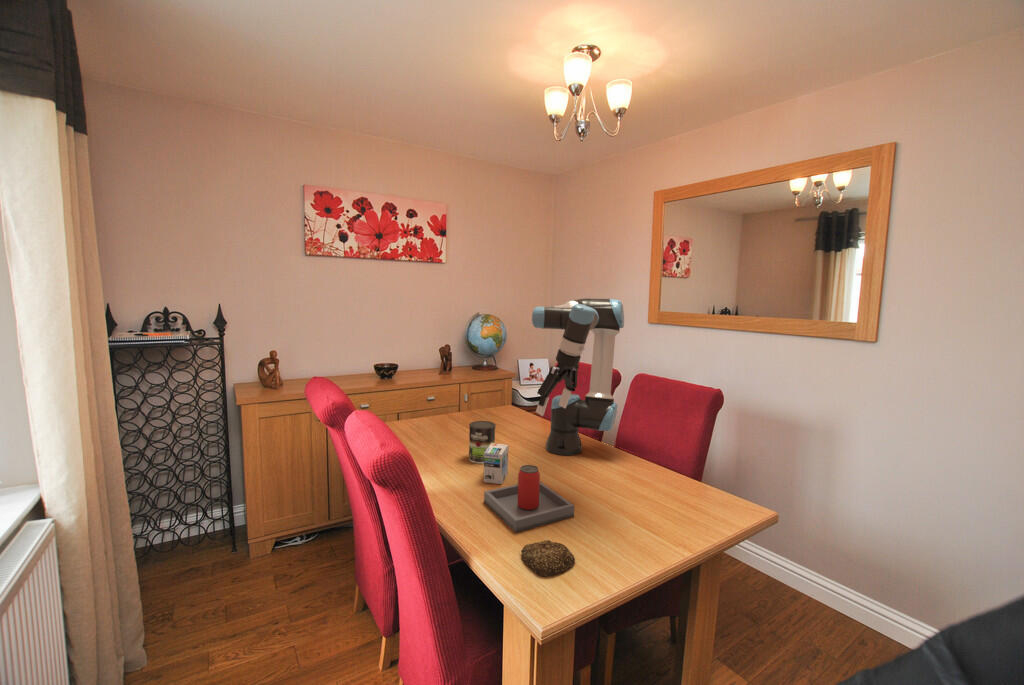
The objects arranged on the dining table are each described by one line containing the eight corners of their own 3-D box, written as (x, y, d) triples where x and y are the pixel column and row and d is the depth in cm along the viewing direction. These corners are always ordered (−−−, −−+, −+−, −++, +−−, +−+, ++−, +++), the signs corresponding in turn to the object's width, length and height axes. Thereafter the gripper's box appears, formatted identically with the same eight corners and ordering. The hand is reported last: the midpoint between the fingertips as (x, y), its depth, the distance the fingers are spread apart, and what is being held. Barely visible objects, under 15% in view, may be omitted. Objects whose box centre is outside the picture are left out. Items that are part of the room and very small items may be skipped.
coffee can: (490, 465, 170) (491, 429, 168) (465, 462, 172) (465, 426, 171) (497, 456, 180) (498, 421, 178) (473, 453, 182) (474, 419, 181)
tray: (537, 489, 150) (538, 479, 150) (574, 516, 133) (574, 505, 132) (484, 502, 140) (484, 491, 140) (515, 532, 123) (516, 520, 123)
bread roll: (536, 582, 103) (537, 561, 102) (515, 552, 114) (515, 534, 114) (584, 569, 108) (585, 550, 107) (559, 543, 119) (559, 525, 119)
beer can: (516, 501, 139) (517, 464, 138) (537, 500, 140) (538, 464, 139) (518, 511, 133) (519, 472, 132) (540, 511, 133) (541, 472, 132)
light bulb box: (501, 484, 153) (502, 454, 152) (482, 482, 155) (483, 452, 153) (508, 472, 164) (509, 444, 162) (490, 470, 165) (491, 442, 164)
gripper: (558, 360, 132) (538, 423, 138) (598, 353, 151) (579, 408, 157) (538, 350, 136) (520, 411, 142) (580, 344, 155) (562, 398, 161)
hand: (551, 410), depth 150 cm, fingers open, 13 cm apart
